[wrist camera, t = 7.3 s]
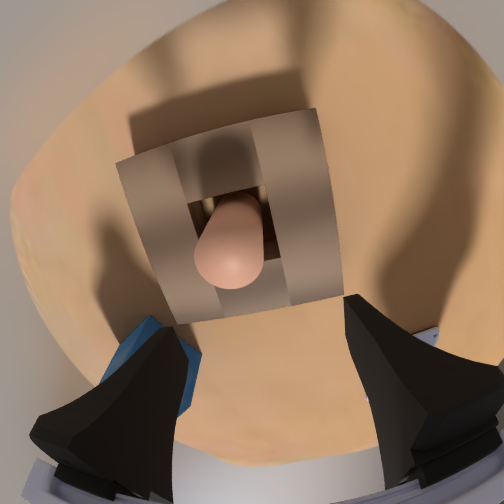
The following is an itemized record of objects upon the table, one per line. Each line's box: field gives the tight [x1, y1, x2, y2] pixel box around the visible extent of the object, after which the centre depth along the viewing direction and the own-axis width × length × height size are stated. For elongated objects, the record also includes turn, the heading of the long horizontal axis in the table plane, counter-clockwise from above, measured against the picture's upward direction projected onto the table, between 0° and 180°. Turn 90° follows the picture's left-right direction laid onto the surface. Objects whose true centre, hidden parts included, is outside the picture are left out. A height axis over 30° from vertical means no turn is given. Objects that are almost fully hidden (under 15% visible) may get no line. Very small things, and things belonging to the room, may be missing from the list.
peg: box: [194, 192, 264, 289], centre depth 16 cm, size 3×3×7 cm
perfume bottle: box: [99, 315, 202, 418], centre depth 19 cm, size 6×6×12 cm
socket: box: [115, 108, 344, 325], centre depth 18 cm, size 12×12×3 cm
